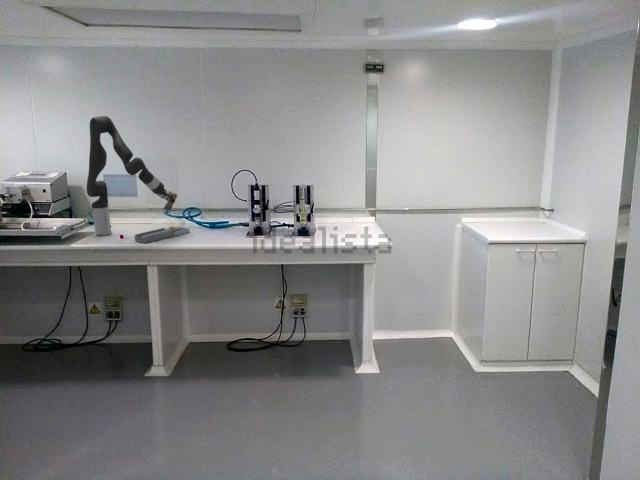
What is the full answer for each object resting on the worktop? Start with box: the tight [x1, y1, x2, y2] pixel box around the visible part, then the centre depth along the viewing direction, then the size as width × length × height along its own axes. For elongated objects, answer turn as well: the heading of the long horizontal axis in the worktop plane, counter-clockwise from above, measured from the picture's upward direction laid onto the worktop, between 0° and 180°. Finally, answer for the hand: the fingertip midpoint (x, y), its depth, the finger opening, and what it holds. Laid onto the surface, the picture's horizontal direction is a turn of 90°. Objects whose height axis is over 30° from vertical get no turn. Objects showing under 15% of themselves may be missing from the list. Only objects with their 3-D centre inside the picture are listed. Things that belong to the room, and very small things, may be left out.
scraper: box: [163, 192, 178, 212], centre depth 302 cm, size 2×4×11 cm
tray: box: [165, 226, 190, 237], centre depth 308 cm, size 12×11×2 cm
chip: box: [168, 225, 177, 232], centre depth 305 cm, size 4×4×3 cm
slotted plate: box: [134, 227, 174, 244], centre depth 295 cm, size 20×10×4 cm, turn 146°
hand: (172, 201), depth 303 cm, fingers closed on scraper, 2 cm apart
